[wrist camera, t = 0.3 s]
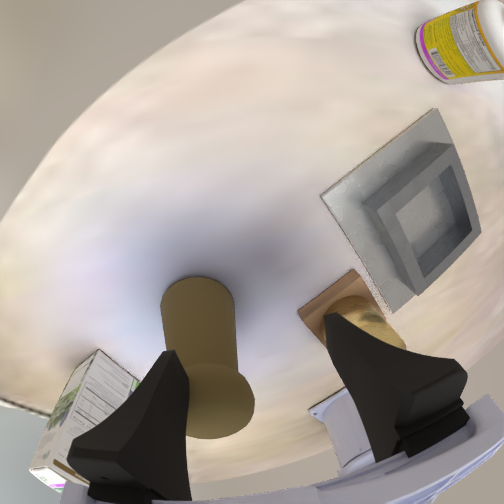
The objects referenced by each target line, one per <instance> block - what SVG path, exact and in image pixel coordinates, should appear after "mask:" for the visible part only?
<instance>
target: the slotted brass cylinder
mask: <svg viewBox="0 0 504 504" xmlns="http://www.w3.org/2000/svg"><path fill="white" fill-rule="evenodd" d="M334 312H337V313H338V314H340V315H341V316H343V317H344V318H346V319H347V320H348V321H350V322H351V323H353V324H354V325H356V326H357V327H359V328H360V329H362V330H364V331H365V332H367V333H369V334H370V335H372V336H374V337H376V338H378V339H380V340H382V341H384V342H386V343H388V344H391V345H393V346H395V347H398V348H401V349H404V350H406V345H405V343H404V341H403V340H402V339H401V338H400V337H399V335H398V334H397V333H396V332H395V331H394V329H393V328H392V327H391V326H390V325H389V324H388V322H387V321H386V320H385V319H384V318H383V317H382V315H381V314H380V313H379V312H378V311H377V310H376V308H375V307H374V306H373V305H372V304H371V303H370V302H369V300H367V299H366V298H365V297H362V296H359V295H351V296H347V297H344V298H341V299H339V300H338V301H336V302H335V303H333V304H332V305H331V306H330V307H329V308H328V309H327V311H326V312H325V314H324V315H327V314H331V313H334ZM321 332H322V334H323V336H324V338H325V340H326V334H325V323H324V316H323V318H322V321H321Z"/></svg>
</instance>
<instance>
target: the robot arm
mask: <svg viewBox="0 0 504 504" xmlns="http://www.w3.org/2000/svg"><path fill="white" fill-rule="evenodd" d="M324 323H325V334H326V345H327V350H328V352H329V355H330V357H331V360H332V362H333V365H334V366H335V368H336V370H337V372H338V374H339V375H340V377H341V379H342V381H343V383H344V384H345V386H346V388H344V389H343V390H341V391H340V392H338V393H336V394H335V395H333V396H332V397H330V398H328V399H327V400H325V401H323V402H322V403H320V404H318V405H316V406H315V407H313V408H311V409H310V410H309V414H310V415H311V416H313V417H314V418H316V419H317V420H319V421H320V422H322V423H323V424H325V425H326V428H327V431H328V434H329V436H330V439H331V442H332V445H333V448H334V450H335V453H336V456H337V459H338V461H339V464H340V467H341V469H340V470H338V471H337V472H338V475H339V477H337V478H333V479H330V480H327V481H323V482H320V483H316V484H312V485H308V486H301V487H294V488H287V489H283V490H278V491H272V492H267V493H260V494H254V495H246V496H237V497H226V498H219V499H212V500H209V501H208V500H207V501H192V497H191V491H190V485H189V478H188V470H187V458H186V427H187V417H188V407H189V396H190V394H189V378H188V376H187V374H186V372H185V370H184V368H183V366H182V364H181V362H180V360H179V358H178V356H177V354H176V352H175V350H169V351H163V352H162V354H161V355H160V356H159V358H158V359H157V361H156V362H155V363H154V365H153V366H152V368H151V369H150V371H149V372H148V373H147V375H146V376H145V378H144V379H143V380H142V382H141V383H140V384H139V385H138V387H137V388H136V389H135V390H134V392H133V393H132V394H131V395H130V396H129V397H128V398H127V400H126V401H125V402H124V403H123V404H122V405H121V406H120V407H119V408H118V409H116V410H115V411H114V412H113V413H112V414H111V415H109V416H108V417H107V418H106V419H105V420H103V421H102V422H101V423H99V424H98V425H96V426H95V427H93V428H92V429H90V430H89V431H87V432H85V433H83V434H82V435H80V436H78V437H76V438H74V439H73V440H72V443H71V446H70V449H69V452H68V455H67V458H66V460H67V463H68V464H69V466H70V467H71V468H72V469H73V470H74V471H76V472H77V473H78V474H80V475H81V476H82V477H84V478H85V479H86V480H88V481H89V482H90V484H89V487H87V486H85V485H82V484H78V483H74V482H69V481H65V485H64V488H63V492H62V496H61V500H60V504H433V503H434V501H435V499H436V498H437V496H438V494H440V493H441V492H443V491H444V490H446V489H448V488H449V487H451V486H452V485H454V484H455V483H456V482H458V481H459V480H461V479H462V478H464V477H465V476H467V475H468V474H469V473H471V472H472V471H473V470H475V469H476V468H477V467H479V466H480V465H481V464H482V463H484V462H485V461H486V460H488V459H489V458H490V457H491V456H492V455H493V454H494V453H495V452H496V451H497V450H498V449H499V447H500V446H501V445H502V444H503V443H504V413H503V411H502V410H501V409H500V408H499V406H498V405H497V404H496V403H495V402H494V400H493V399H492V398H491V397H490V396H489V394H486V395H484V396H483V397H482V398H480V399H479V400H477V401H476V402H475V403H473V404H472V405H470V406H469V407H468V408H467V409H466V410H464V409H463V407H462V406H463V404H464V403H463V401H462V400H461V398H460V396H461V393H462V392H463V389H464V387H465V385H466V382H467V378H468V376H467V372H466V371H465V370H464V369H463V368H462V366H461V365H460V364H459V363H458V362H457V361H456V360H455V359H448V358H438V357H432V356H426V355H421V354H417V353H414V352H410V351H407V350H404V349H401V348H398V347H395V346H393V345H391V344H388V343H386V342H384V341H382V340H380V339H378V338H376V337H374V336H372V335H370V334H369V333H367V332H365V331H364V330H362V329H360V328H359V327H357V326H356V325H354V324H353V323H351V322H350V321H348V320H347V319H346V318H344V317H343V316H341V315H340V314H338V313H337V312H334V313H331V314H327V315H324Z"/></svg>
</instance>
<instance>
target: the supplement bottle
mask: <svg viewBox="0 0 504 504" xmlns="http://www.w3.org/2000/svg"><path fill="white" fill-rule="evenodd" d="M416 43H417V47H418V51H419V53H420V56H421V58H422V60H423V62H424V63H425V65H426V66H427V68H428V69H429V70H430V71H431V72H432V73H433V74H434V75H435V76H436V77H437V78H438V79H440V80H442V81H443V82H445V83H448V84H462V83H470V82H479V81H489V80H503V79H504V4H502V3H501V2H499V1H497V0H480V1H478V2H474V3H472V4H469V5H466V6H464V7H461V8H458V9H456V10H453V11H451V12H448V13H446V14H443V15H441V16H439V17H436V18H434V19H432V20H429V21H427V22H425V23H423V24H422V25H421V26H420V27H419V28H418V30H417V33H416Z"/></svg>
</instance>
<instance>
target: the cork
mask: <svg viewBox="0 0 504 504" xmlns="http://www.w3.org/2000/svg"><path fill="white" fill-rule="evenodd" d="M160 307H161V315H162V323H163V330H164V336H165V343H166V349H167V351H169V350H175V352H176V354H177V356H178V358H179V360H180V362H181V364H182V366H183V368H184V370H185V372H186V374H187V376H188V378H189V394H190V396H189V407H188V417H187V427H186V436H190V437H194V438H198V439H217V438H222V437H226V436H229V435H232V434H234V433H236V432H238V431H240V430H241V429H243V428H244V427H246V426H247V424H248V423H249V422H250V420H251V418H252V416H253V413H254V405H255V398H254V395H253V392H252V390H251V387H250V385H249V383H248V382H247V380H246V379H245V377H244V376H243V375H241V374H240V373H239V372H238V359H237V344H236V329H235V312H234V301H233V299H232V296H231V293H230V292H229V291H228V290H227V289H226V287H225V286H224V285H222V284H220V283H219V282H217V281H215V280H212V279H208V278H204V277H190V278H187V279H184V280H180V281H178V282H176V283H175V284H174V285H172V286H171V287H169V288H168V290H167V291H166V292H165V294H164V295H163V297H162V301H161V305H160Z"/></svg>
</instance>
